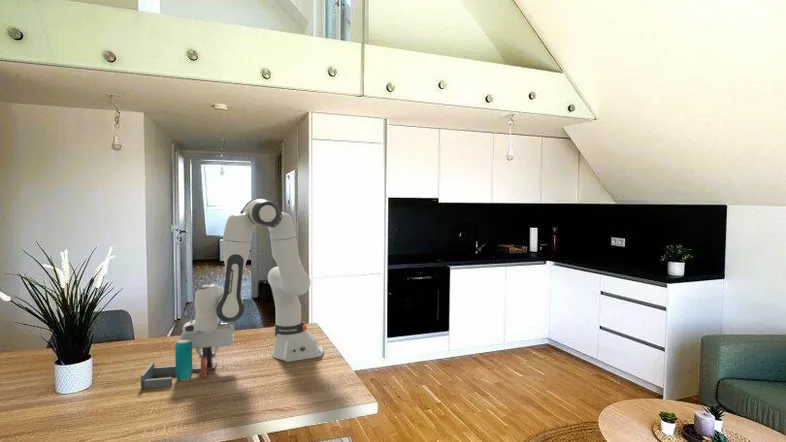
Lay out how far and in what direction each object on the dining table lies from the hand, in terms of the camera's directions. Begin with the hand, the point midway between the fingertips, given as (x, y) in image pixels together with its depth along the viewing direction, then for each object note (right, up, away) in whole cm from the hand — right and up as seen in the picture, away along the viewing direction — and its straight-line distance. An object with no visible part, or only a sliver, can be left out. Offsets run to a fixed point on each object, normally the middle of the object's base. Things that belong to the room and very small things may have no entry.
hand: (207, 357), depth 168 cm
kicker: (+1, -4, -4) cm, 6 cm away
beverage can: (-5, -5, -9) cm, 12 cm away
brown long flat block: (-5, -5, -1) cm, 7 cm away
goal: (-13, -5, -11) cm, 18 cm away
